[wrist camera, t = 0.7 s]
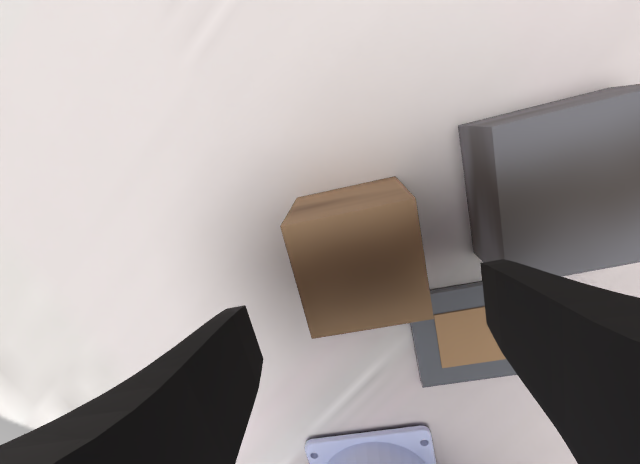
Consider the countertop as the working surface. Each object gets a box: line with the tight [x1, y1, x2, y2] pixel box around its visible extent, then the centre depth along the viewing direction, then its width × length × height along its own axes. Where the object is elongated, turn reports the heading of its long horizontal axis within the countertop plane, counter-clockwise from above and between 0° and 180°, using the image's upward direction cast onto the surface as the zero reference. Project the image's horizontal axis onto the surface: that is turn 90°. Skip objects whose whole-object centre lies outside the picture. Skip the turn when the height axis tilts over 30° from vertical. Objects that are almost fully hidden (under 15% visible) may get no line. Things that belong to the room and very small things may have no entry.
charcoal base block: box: [458, 84, 640, 276], centre depth 15 cm, size 6×6×4 cm
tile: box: [411, 281, 517, 387], centre depth 19 cm, size 6×6×1 cm
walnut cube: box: [280, 176, 434, 339], centre depth 15 cm, size 5×5×5 cm
